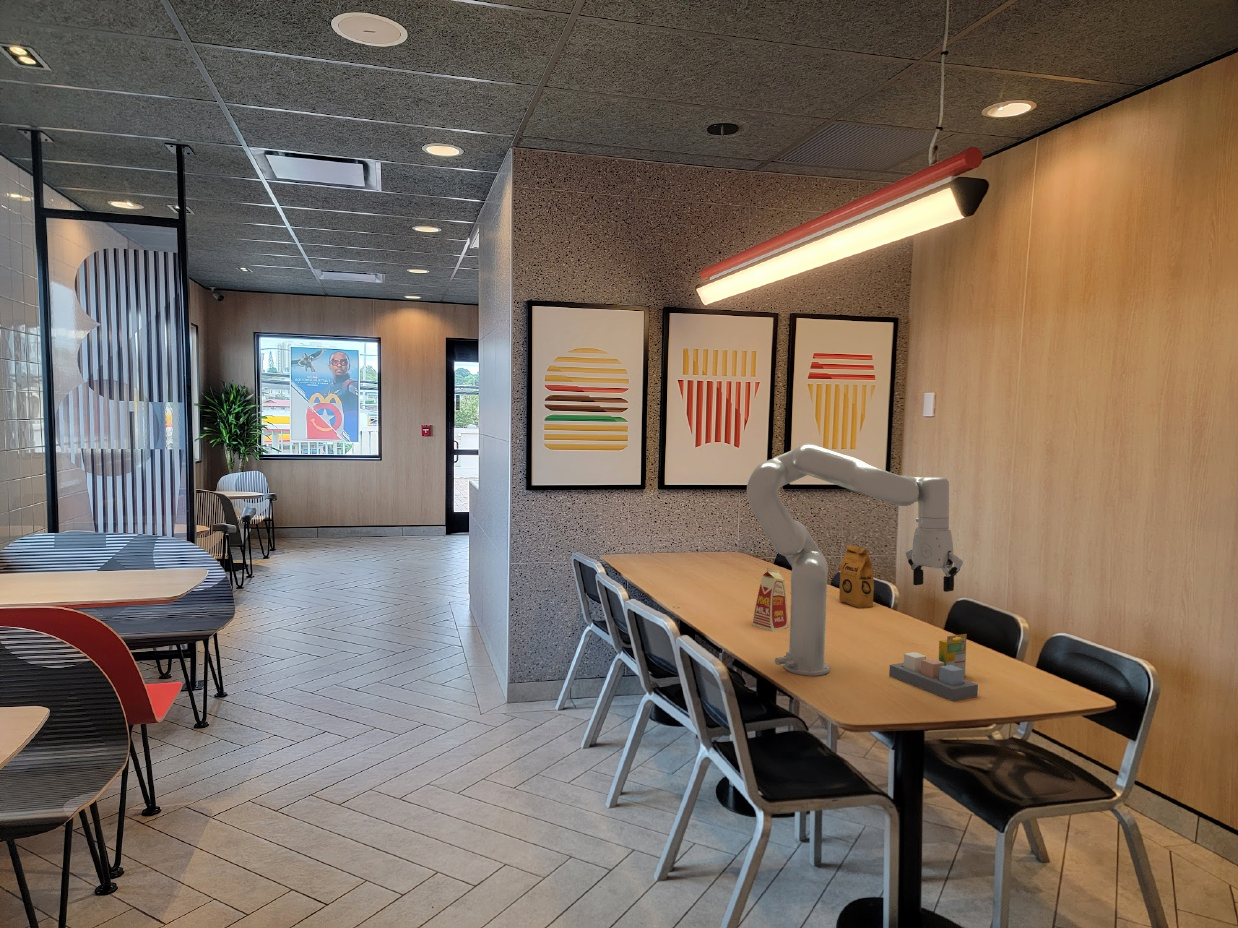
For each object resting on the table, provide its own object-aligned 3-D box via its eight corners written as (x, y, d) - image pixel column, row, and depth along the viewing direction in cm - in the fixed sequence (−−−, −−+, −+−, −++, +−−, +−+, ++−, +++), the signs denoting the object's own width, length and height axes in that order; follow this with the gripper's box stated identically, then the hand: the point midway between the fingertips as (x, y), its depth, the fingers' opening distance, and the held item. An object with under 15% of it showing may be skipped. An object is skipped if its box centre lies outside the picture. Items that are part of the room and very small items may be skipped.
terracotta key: (932, 679, 206) (933, 664, 206) (920, 674, 209) (921, 659, 209) (943, 677, 208) (944, 662, 207) (931, 672, 211) (932, 658, 211)
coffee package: (855, 609, 292) (857, 550, 290) (835, 601, 303) (837, 544, 302) (877, 607, 295) (880, 549, 294) (857, 600, 307) (859, 544, 305)
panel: (952, 700, 197) (953, 689, 197) (889, 675, 216) (889, 664, 216) (977, 695, 201) (977, 684, 201) (913, 671, 220) (913, 660, 220)
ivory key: (914, 672, 211) (915, 657, 211) (903, 668, 215) (903, 653, 214) (925, 670, 213) (926, 656, 213) (914, 666, 216) (914, 651, 216)
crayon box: (957, 672, 220) (958, 631, 220) (965, 675, 218) (967, 633, 217) (937, 675, 217) (939, 633, 217) (945, 678, 215) (947, 636, 214)
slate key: (951, 686, 200) (952, 671, 200) (939, 681, 204) (939, 666, 204) (962, 684, 202) (963, 669, 202) (950, 679, 206) (950, 664, 206)
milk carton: (772, 631, 259) (774, 570, 258) (750, 625, 266) (752, 566, 265) (790, 627, 265) (792, 568, 263) (768, 621, 272) (770, 563, 271)
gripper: (897, 521, 214) (897, 583, 215) (951, 528, 199) (951, 595, 200) (916, 519, 218) (916, 580, 219) (971, 525, 203) (970, 592, 204)
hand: (933, 587), depth 209 cm, fingers open, 9 cm apart
